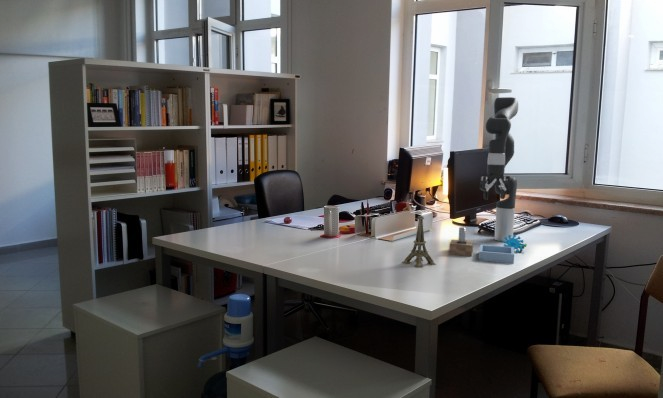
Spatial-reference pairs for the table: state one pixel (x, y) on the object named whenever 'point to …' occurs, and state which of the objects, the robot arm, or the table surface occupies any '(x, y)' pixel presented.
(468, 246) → the pin block
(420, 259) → the eiffel tower
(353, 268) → the table surface
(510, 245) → the gear
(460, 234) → the peg
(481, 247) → the tray
